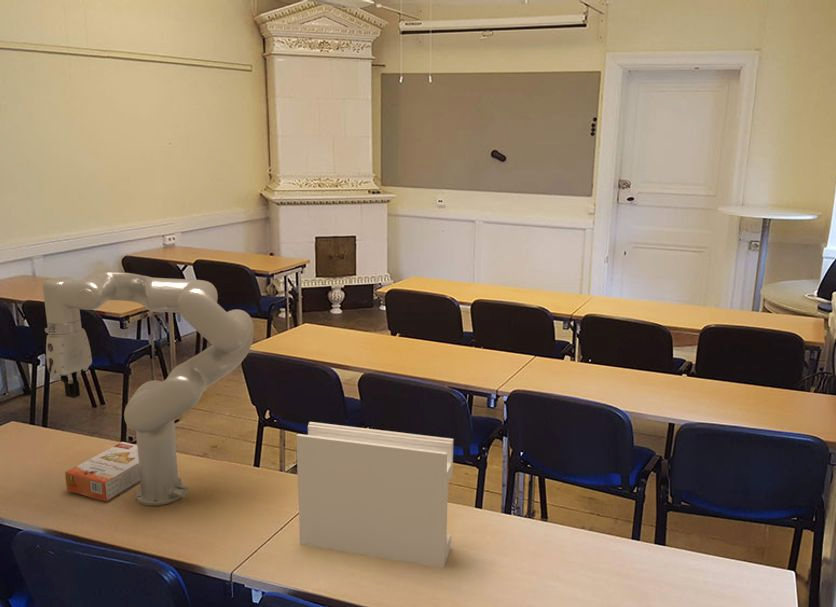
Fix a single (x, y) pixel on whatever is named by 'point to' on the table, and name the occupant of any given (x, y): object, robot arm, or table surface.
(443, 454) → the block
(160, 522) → the table surface
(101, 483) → the cracker box
